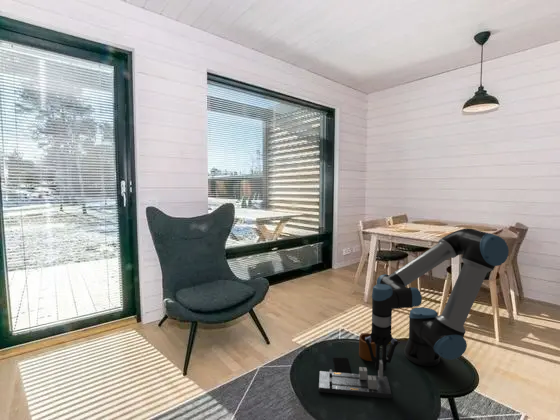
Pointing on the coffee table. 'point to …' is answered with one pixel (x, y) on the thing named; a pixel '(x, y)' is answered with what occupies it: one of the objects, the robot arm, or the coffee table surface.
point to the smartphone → (342, 365)
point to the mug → (366, 347)
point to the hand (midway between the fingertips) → (380, 376)
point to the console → (352, 385)
